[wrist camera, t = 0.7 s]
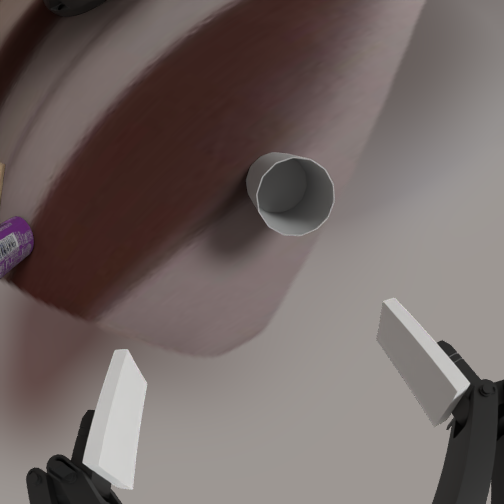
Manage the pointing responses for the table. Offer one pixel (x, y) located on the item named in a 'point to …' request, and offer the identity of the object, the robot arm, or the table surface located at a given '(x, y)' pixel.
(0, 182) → the ring board
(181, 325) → the table surface
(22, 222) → the beverage can
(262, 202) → the cup
